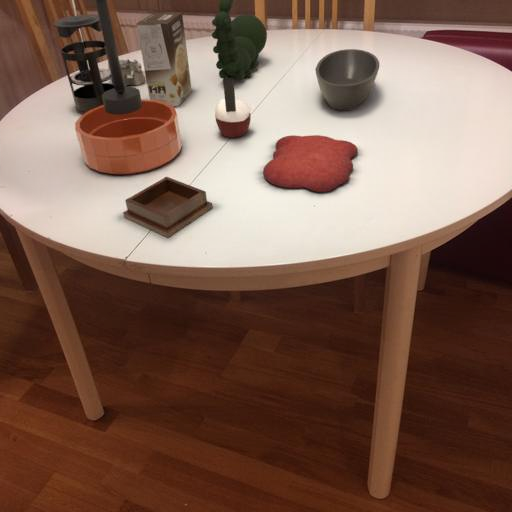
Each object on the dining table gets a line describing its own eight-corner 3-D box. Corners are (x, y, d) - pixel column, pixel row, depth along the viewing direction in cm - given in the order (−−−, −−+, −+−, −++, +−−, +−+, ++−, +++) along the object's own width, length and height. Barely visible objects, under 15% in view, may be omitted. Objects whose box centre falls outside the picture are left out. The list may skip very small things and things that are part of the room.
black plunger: (121, 117, 83) (86, -41, 69) (97, 110, 86) (60, -44, 72) (149, 105, 86) (122, -48, 73) (125, 98, 89) (95, -50, 76)
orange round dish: (128, 186, 82) (119, 148, 78) (65, 160, 90) (54, 124, 86) (201, 146, 92) (196, 111, 88) (138, 126, 100) (131, 92, 96)
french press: (128, 108, 108) (102, -16, 94) (83, 119, 104) (49, -8, 90) (111, 92, 116) (85, -24, 102) (68, 102, 112) (35, -17, 98)
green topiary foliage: (249, 96, 114) (275, 51, 131) (240, 4, 101) (270, -32, 119) (208, 94, 116) (239, 50, 134) (195, 4, 103) (231, -32, 121)
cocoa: (228, 122, 99) (222, 58, 92) (259, 126, 97) (255, 60, 90) (206, 144, 92) (198, 75, 85) (238, 148, 90) (233, 78, 83)
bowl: (308, 117, 99) (308, 84, 95) (323, 77, 116) (324, 48, 112) (373, 120, 97) (376, 87, 93) (379, 79, 113) (381, 49, 110)
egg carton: (145, 85, 119) (142, 66, 116) (112, 89, 117) (108, 71, 115) (141, 70, 127) (138, 53, 124) (110, 74, 126) (106, 57, 123)
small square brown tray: (167, 237, 70) (164, 220, 68) (124, 217, 75) (119, 200, 73) (212, 207, 75) (210, 190, 74) (169, 190, 80) (166, 174, 78)
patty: (280, 138, 93) (280, 127, 91) (360, 143, 89) (361, 132, 88) (254, 187, 79) (253, 176, 78) (346, 196, 76) (347, 184, 75)
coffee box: (179, 107, 107) (167, 23, 97) (150, 106, 108) (135, 23, 98) (192, 90, 114) (182, 11, 104) (165, 90, 115) (152, 11, 105)
